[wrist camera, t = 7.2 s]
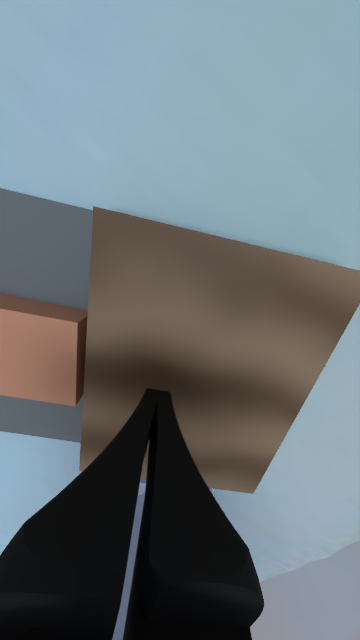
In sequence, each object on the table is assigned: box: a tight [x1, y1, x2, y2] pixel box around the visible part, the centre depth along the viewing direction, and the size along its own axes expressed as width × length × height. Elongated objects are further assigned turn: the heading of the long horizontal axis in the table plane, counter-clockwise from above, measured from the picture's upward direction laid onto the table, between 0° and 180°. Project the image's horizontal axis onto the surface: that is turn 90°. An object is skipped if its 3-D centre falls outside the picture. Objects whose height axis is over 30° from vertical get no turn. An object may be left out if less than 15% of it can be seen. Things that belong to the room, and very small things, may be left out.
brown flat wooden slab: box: [79, 206, 360, 494], centre depth 13 cm, size 18×14×2 cm
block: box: [0, 294, 88, 406], centre depth 12 cm, size 6×8×2 cm
